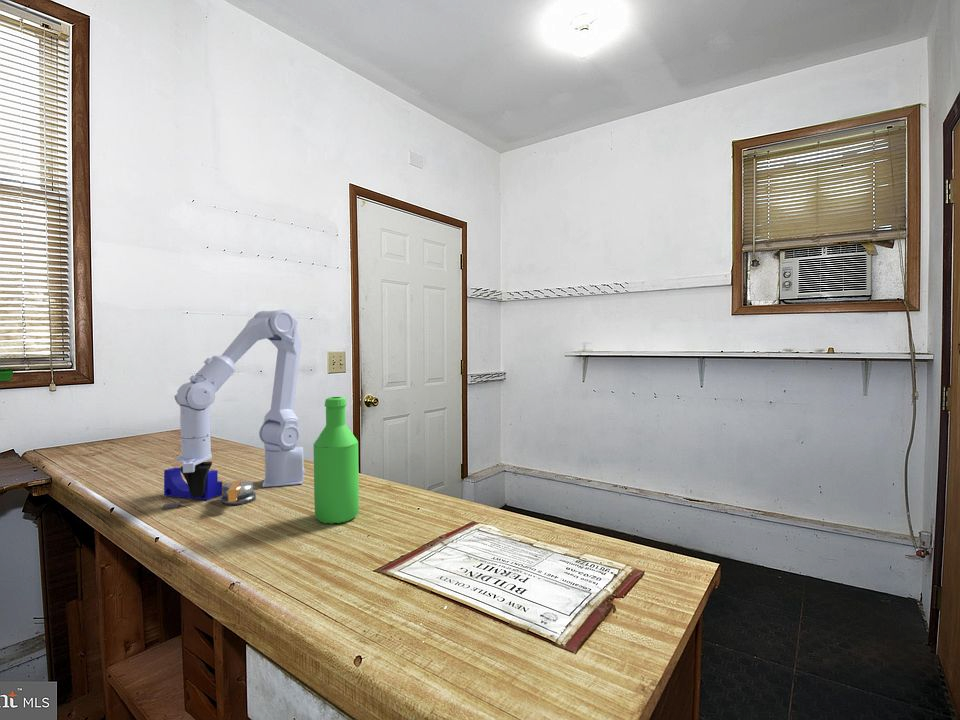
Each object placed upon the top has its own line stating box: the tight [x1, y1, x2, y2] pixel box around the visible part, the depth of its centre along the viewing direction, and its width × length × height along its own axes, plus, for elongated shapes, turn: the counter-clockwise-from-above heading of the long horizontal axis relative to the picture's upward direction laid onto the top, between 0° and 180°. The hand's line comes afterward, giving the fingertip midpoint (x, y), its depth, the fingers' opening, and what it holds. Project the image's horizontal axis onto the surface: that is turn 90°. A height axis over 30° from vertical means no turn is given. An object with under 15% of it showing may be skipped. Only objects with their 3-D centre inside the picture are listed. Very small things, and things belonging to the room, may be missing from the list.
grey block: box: [161, 502, 181, 510], centre depth 106 cm, size 3×2×1 cm, turn 109°
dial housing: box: [221, 491, 257, 507], centre depth 110 cm, size 7×7×1 cm
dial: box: [223, 479, 254, 502], centre depth 108 cm, size 12×6×4 cm, turn 18°
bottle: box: [313, 396, 360, 524], centre depth 99 cm, size 9×9×25 cm
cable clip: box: [163, 466, 223, 501], centre depth 114 cm, size 12×4×6 cm, turn 77°
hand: (197, 496), depth 108 cm, fingers closed
